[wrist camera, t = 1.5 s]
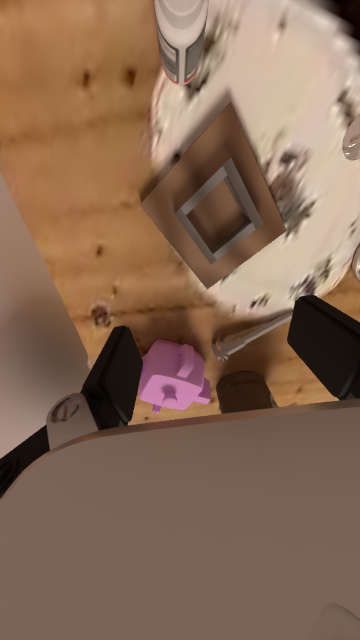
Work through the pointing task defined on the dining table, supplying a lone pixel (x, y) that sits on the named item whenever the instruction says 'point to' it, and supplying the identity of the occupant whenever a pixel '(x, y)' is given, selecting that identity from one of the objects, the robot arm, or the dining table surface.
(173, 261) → the dining table surface
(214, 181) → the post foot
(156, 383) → the teakettle
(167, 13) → the pill bottle
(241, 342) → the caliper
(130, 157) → the dining table surface
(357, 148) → the wineglass
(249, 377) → the wooden container
